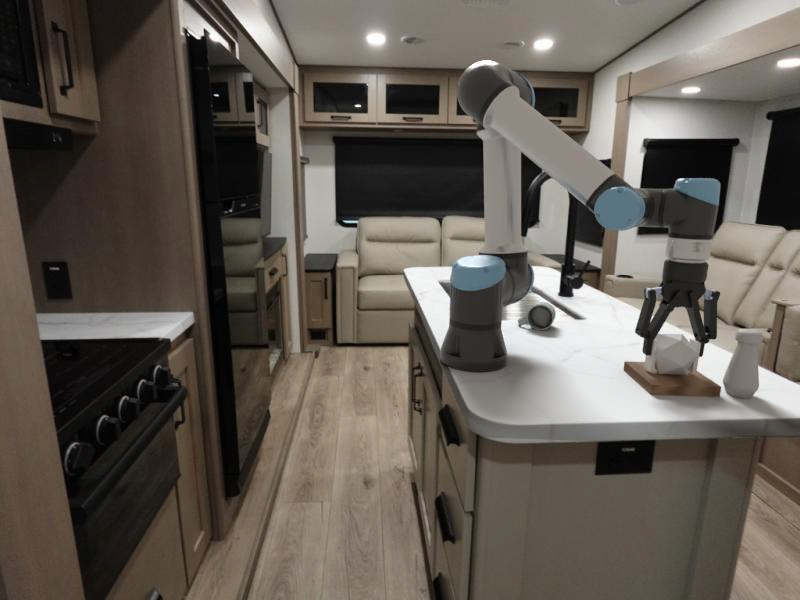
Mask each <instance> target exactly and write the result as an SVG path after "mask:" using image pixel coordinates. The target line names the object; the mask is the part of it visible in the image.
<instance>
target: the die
mask: <svg viewBox="0 0 800 600" xmlns="http://www.w3.org/2000/svg"><path fill="white" fill-rule="evenodd" d="M655 340H656V341H658V348H657V349H656V351H655V353H654V354H655V358H656V362H655V369H656V370H657V371H658V373H659V374H680V375H685V374H686V372H687V371H688V369H689V368H690V366H691V365H692V363H693V362H694V360H695V359H696V357H697V356H698V352H697V351H696V350H695V349H694V348H693V346H692V345H691V344H690V343H689V341H690V340H688V339H687V338H686V336H685V335H684V334H683V333H658V334H657V336H656V338H655Z"/></svg>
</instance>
